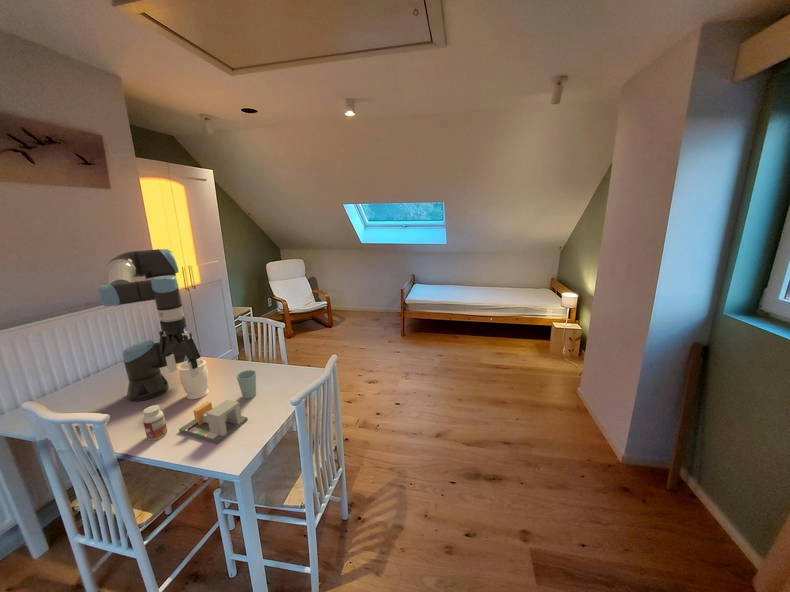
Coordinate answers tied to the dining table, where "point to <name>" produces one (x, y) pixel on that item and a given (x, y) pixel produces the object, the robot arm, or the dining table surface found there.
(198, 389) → the jar
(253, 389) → the cup
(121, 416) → the dining table surface
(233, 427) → the board
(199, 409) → the plunger
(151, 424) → the pill bottle
